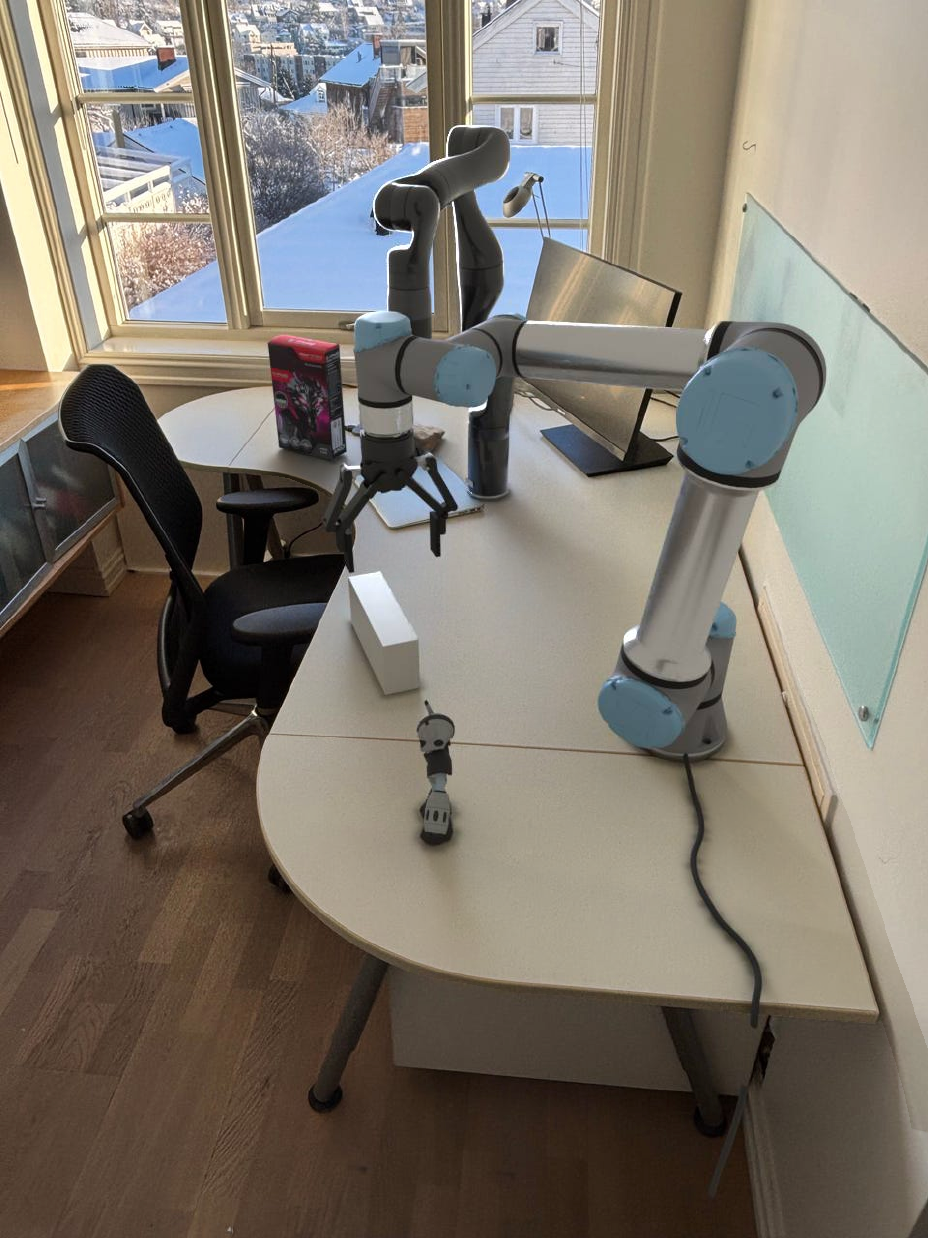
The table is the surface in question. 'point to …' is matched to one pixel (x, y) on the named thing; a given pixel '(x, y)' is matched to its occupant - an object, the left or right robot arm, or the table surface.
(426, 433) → the stone
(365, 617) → the box
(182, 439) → the table surface
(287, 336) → the graphics card box
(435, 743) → the robot
